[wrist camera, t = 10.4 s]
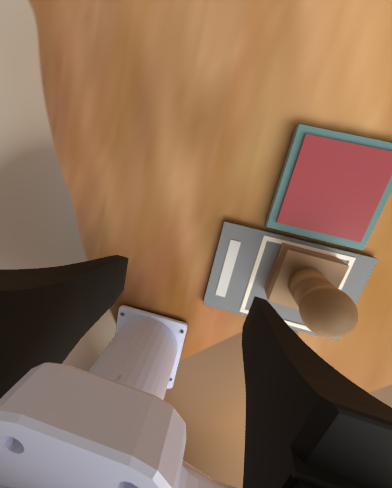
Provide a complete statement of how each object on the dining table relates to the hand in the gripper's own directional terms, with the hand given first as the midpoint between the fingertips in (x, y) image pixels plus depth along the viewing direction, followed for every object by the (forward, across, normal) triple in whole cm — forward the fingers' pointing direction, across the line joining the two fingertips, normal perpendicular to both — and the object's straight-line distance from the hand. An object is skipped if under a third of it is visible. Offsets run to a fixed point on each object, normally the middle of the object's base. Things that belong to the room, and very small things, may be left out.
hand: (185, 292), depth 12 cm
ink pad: (+11, -9, -7) cm, 16 cm away
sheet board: (+10, -8, +2) cm, 13 cm away
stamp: (+10, -9, +1) cm, 13 cm away
